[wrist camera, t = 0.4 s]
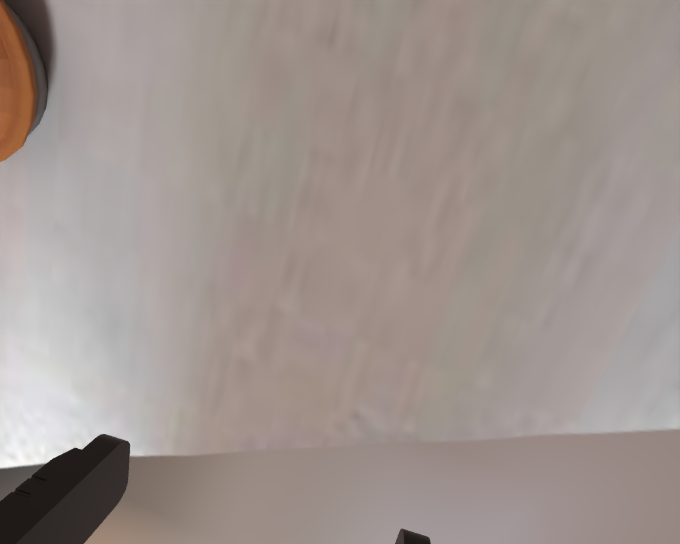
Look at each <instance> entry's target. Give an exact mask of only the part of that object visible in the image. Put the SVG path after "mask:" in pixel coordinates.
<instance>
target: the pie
mask: <svg viewBox="0 0 680 544" xmlns="http://www.w3.org/2000/svg"><path fill="white" fill-rule="evenodd" d="M47 91H48V88H47V80H46V73H45V67H44V64H43V61H42V58H41V56H40V53H39V50H38V47H37V44H36V43H35V41H34V39H33V38H32V36H31V34H30V33H29V31H28V29H27V27H26V26H25V24H24V22H23V21H22V20H21V19H20V18H19V17H18V15H17V14H16V13H15V12H14V11H13V10H12V9H11V8H10V6H9V5H8V4H7V3H6V2H5V1H4V0H0V162H1V161H4V160H6V159H7V158H8V157H10V156H11V155H12V154H13V153H15V152H16V151H17V150H19V149H20V148H21V147H22V146H23V145H24V143H25V141H26V139H27V136H28V135H29V134H30V133H31V132H32V131H33V130H34V129H35V128H36V127H37V126H38V125H39V123H40V120H41V118H42V116H43V114H44V111H45V109H46V101H47Z"/></svg>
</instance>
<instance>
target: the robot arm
mask: <svg viewBox="0 0 680 544" xmlns="http://www.w3.org/2000/svg"><path fill="white" fill-rule="evenodd" d="M129 456H130V443H129V442H128V441H125V440H122V439H119V438H116V437H113V436H109V435H106V434H102V435H99V436H98V437H96V438H95V439H94V440H93V441H92V442H90V443H89V444H88V445H87V446H86V447H85V448H83V449H82V450H81V449H78V448H74V449H71V450H69V451H67V452H65V453H63V454H61V455H59V456H57V457H55V458H53V459H52V460H50V461H49V462H48V463H47V464H45V465H44V466H43V467H42V468H41V469H39V470H38V471H37V472H36V473H34V474H33V475H32V477H31V478H30V479H29V478H28V479H27V480H26V481H25V482H24V483H22V484H21V485H20V486H19V487H17V488H16V490H15V491H14V492H11V493H10V494H9V495H7V496H6V497H5V498H4V499H3V500H1V501H0V544H84V543H85V542H86V540H87V539H88V538H89V537H90V536H91V535H92V533H93V532H94V531H95V530H96V529H97V528H98V527H99V525H100V524H101V523H102V522H103V521H104V519H105V518H106V517H107V516H108V515H109V514H110V512H111V511H112V510H113V509H114V508H115V507H116V505H117V504H118V503H119V501H120V499H121V498H122V496H123V494H124V492H125V490H126V487H127V483H128V470H129ZM395 544H431V543H430V539H429V537H427V536H424V535H420V534H417V533H414V532H411V531H408V530H405V529H401V530H400V532H399V534H398V537H397V540H396V543H395Z"/></svg>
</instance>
